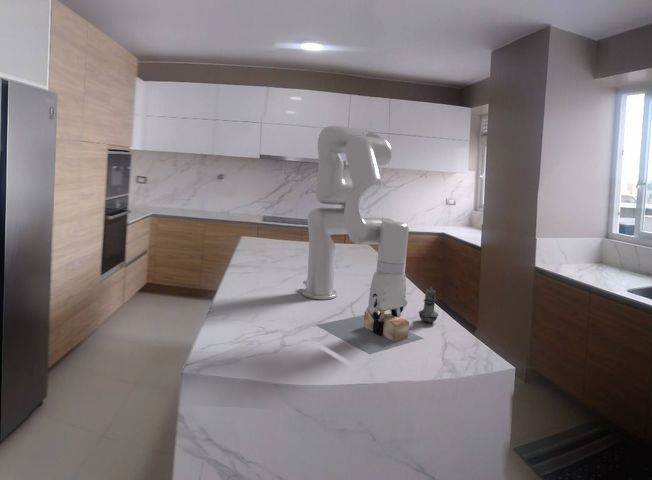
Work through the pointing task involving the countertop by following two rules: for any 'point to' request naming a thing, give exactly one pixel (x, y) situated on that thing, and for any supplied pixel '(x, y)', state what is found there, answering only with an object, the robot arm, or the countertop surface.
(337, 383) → the countertop surface
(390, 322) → the beige brown block
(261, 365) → the countertop surface
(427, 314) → the grey chess piece
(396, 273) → the robot arm
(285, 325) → the countertop surface
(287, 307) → the countertop surface
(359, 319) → the slate mat
